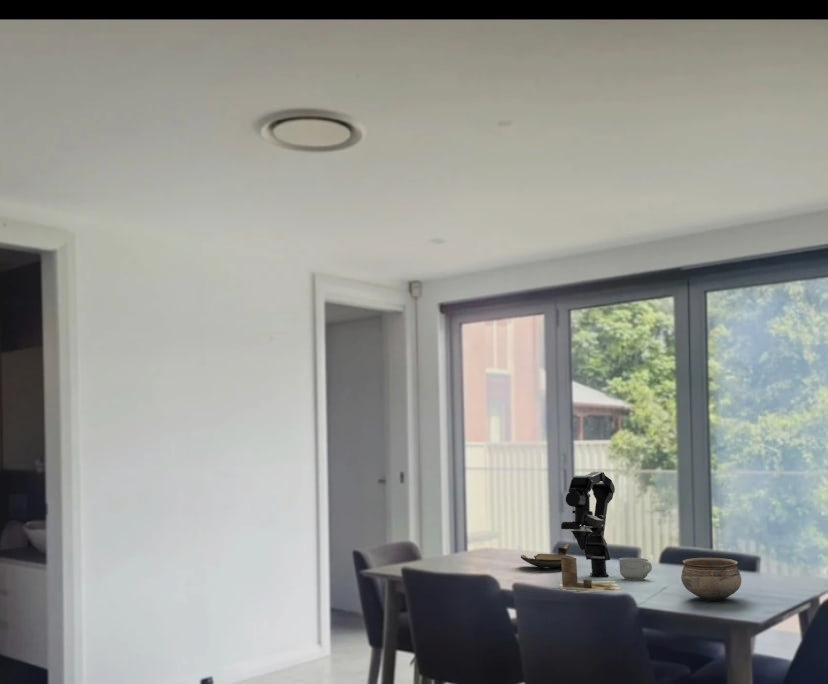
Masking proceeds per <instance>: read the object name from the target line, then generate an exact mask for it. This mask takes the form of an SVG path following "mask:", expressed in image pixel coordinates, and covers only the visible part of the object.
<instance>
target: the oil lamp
mask: <svg viewBox="0 0 828 684" xmlns="http://www.w3.org/2000/svg"><path fill="white" fill-rule="evenodd" d="M569 548H570V544H569V543H566V544H565V545H564V546H563V547H561V546H560V547H558V548H557V549H558V550H557V551H558V552H557V553H537V554H536V555H533V558H530V557H528V556H526V555H524V554H521V555H520V558H521V559H522V560H523V561H524V562H526V563H527V564H530V565H532V566H534V567H538V568H547V569H556V568H558V569H559V568H562V567H561V558H562V557H565V558H575V557H574V556H572V555H567V552H568V551H569Z"/></svg>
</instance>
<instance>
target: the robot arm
mask: <svg viewBox="0 0 828 684" xmlns="http://www.w3.org/2000/svg"><path fill="white" fill-rule="evenodd" d="M591 490H592V494H593V496H594V498H595V507H594V513H593V511H592V510H591V507H590V506H591V503H590V501H591V499H590V498H591V494H590V492H591ZM615 490H616V489H615V485H614V482H613V480H612V479H611V478H609V477H608V476H607V475H606V474H605V472H604V471H592V472H590V473H588V474H585V475H573V476H572V478H571V481H570V484H569V487H568V493H567V494H566V495H565V503H566V505H568V507H571V508H572V507H573V508H574V510H572V514H574V521H562V522H561V524H560V529H561V530H570V532H571V533H572V534H573V537H574V538H575V540H576V542H577V544H578V546H579V548H580V550H581V551H584V555H585V559H586V561H587V560H590V563H591V572H590V576H591V577H609V574H608V572H607V561H610V560H611V552H610V550H609V548H608V544H607V543H608V542H607V541H606V539H605V530H606V529H605V527H606V521H607V512H608V506H609V505H608V504H609V503H610V502H611V501H612V500H613V497H614V494H615Z"/></svg>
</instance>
